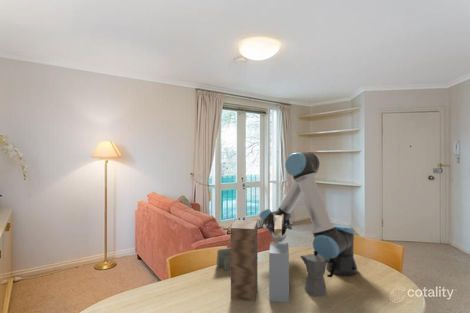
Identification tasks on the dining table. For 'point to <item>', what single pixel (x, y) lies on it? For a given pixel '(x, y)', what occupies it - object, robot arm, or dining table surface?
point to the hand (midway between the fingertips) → (278, 216)
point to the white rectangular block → (279, 272)
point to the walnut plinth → (244, 260)
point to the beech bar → (278, 226)
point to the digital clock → (224, 258)
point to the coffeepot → (317, 273)
